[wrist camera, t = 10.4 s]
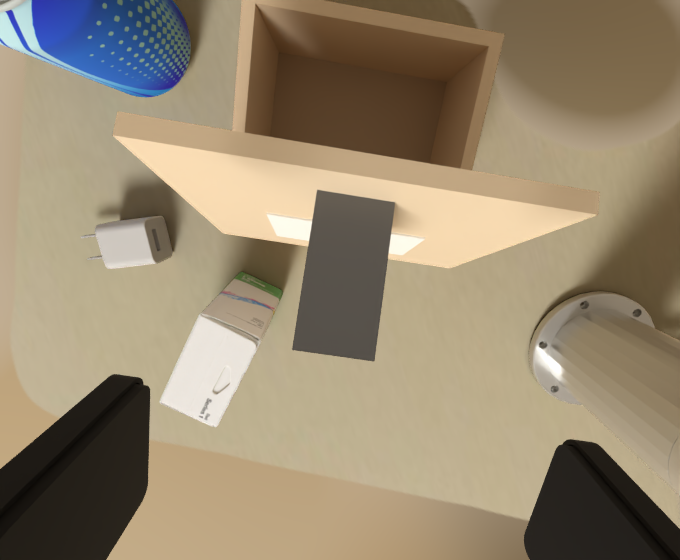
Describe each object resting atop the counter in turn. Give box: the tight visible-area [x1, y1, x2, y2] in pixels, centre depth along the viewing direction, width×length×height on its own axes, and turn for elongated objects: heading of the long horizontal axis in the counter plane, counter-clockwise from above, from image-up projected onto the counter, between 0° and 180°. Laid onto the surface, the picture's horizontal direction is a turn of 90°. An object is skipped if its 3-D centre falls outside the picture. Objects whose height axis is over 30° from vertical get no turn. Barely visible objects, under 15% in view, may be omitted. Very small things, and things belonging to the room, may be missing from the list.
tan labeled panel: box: [113, 111, 600, 361], centre depth 19 cm, size 16×14×7 cm
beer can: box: [0, 0, 191, 97], centre depth 24 cm, size 8×8×16 cm
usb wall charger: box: [80, 216, 172, 269], centre depth 34 cm, size 4×7×4 cm, turn 97°
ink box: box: [160, 272, 283, 427], centre depth 33 cm, size 8×5×12 cm, turn 152°
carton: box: [232, 0, 505, 171], centre depth 29 cm, size 16×14×10 cm
